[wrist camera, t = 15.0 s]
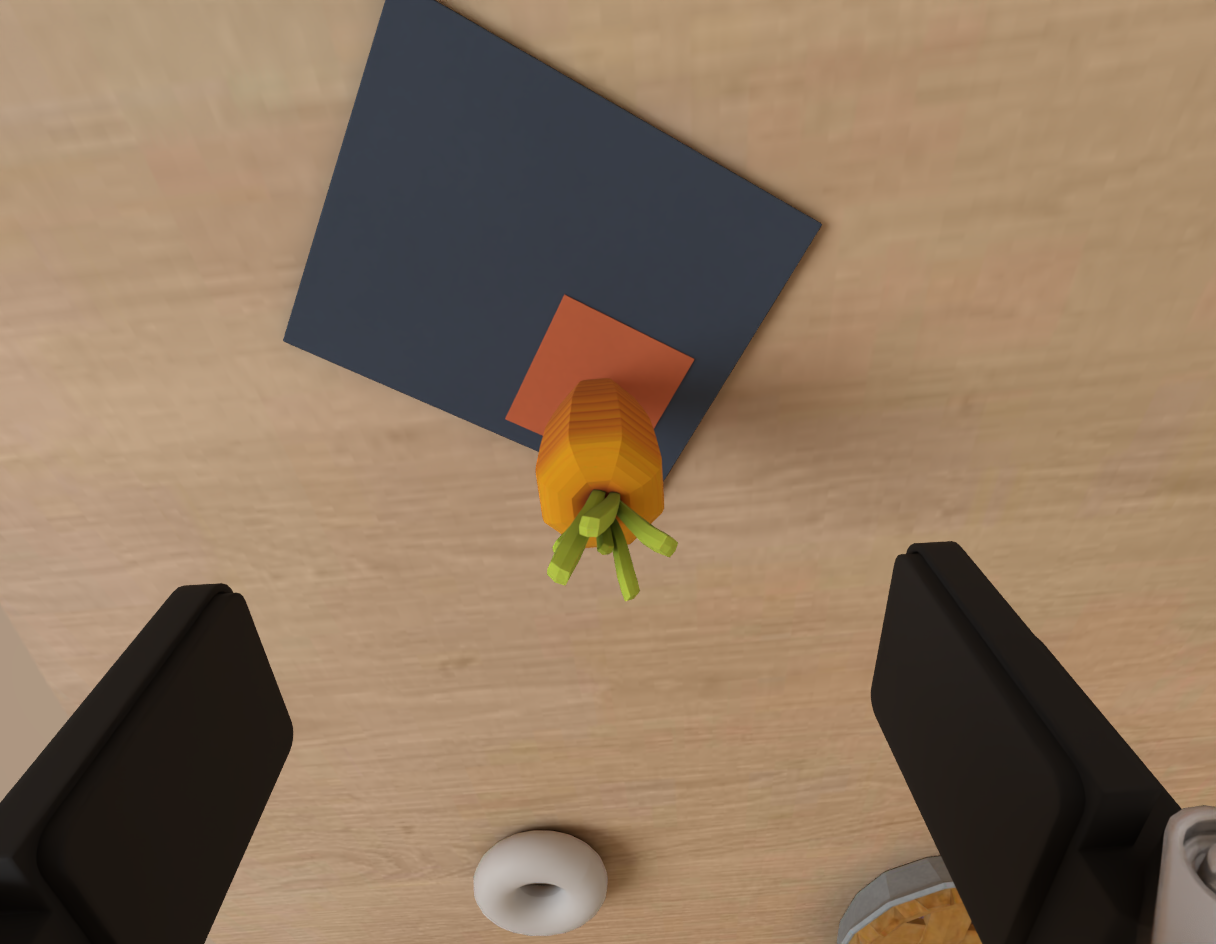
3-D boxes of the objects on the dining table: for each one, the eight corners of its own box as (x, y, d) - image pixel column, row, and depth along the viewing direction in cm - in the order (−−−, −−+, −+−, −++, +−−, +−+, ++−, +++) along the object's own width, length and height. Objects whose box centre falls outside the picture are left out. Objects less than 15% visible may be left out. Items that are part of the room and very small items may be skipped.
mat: (286, 338, 33) (281, 342, 33) (395, -23, 27) (391, -25, 26) (651, 496, 38) (651, 502, 38) (819, 222, 31) (823, 224, 31)
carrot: (661, 356, 34) (709, 521, 20) (629, 444, 36) (653, 645, 23) (563, 326, 33) (546, 478, 20) (536, 418, 35) (504, 611, 22)
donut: (455, 876, 54) (568, 914, 56) (446, 923, 51) (566, 960, 53) (513, 802, 50) (632, 846, 52) (507, 847, 47) (634, 891, 49)
